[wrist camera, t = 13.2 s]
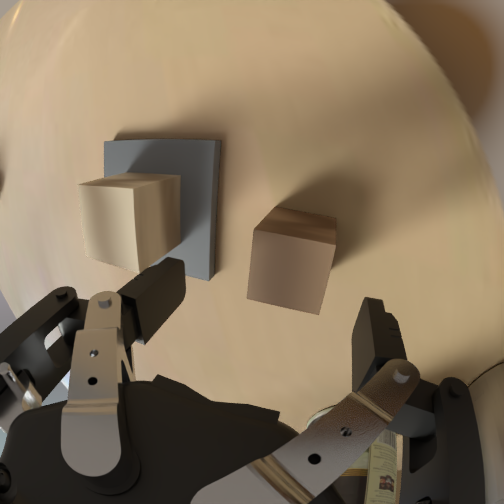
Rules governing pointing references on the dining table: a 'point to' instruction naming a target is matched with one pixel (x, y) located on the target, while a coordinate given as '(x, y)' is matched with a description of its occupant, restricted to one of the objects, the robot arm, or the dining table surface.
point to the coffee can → (369, 471)
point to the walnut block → (292, 259)
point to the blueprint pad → (191, 191)
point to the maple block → (130, 218)
